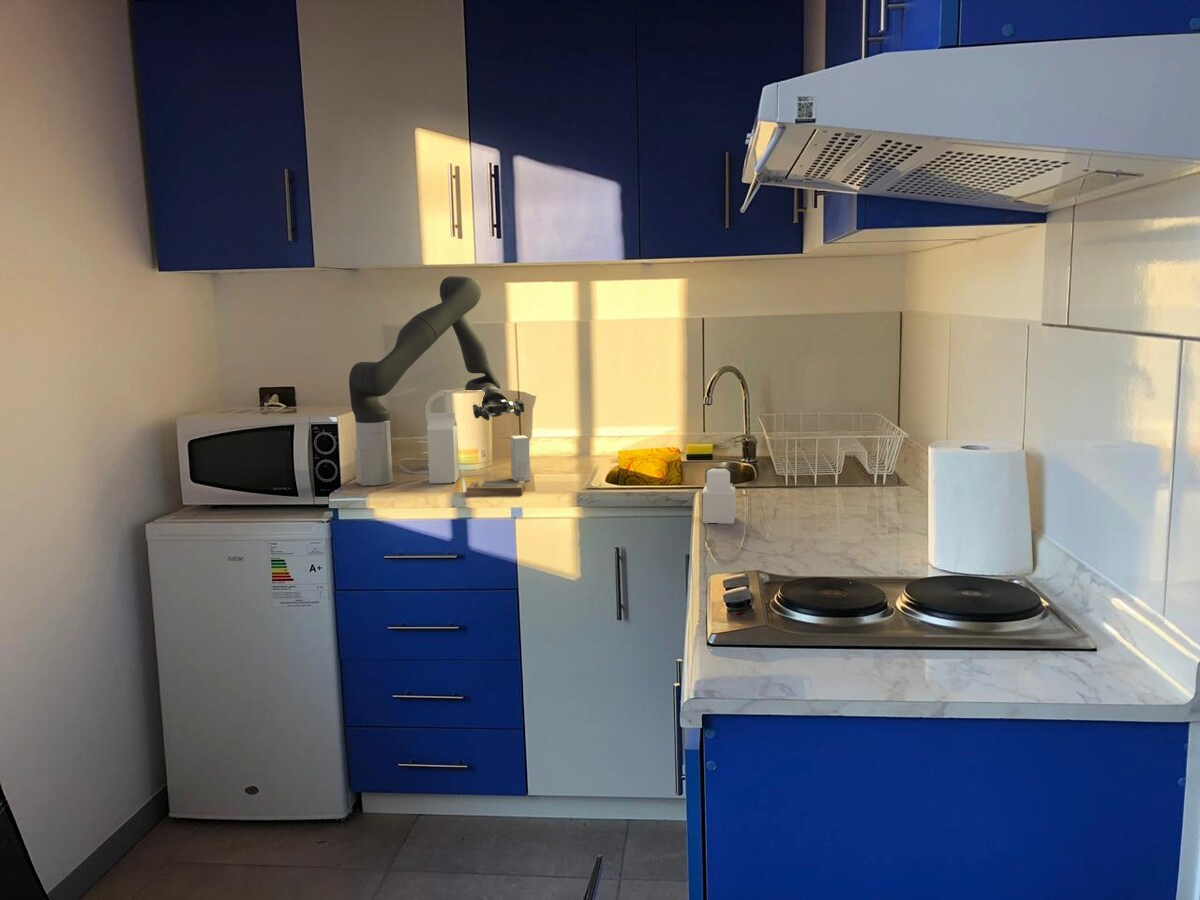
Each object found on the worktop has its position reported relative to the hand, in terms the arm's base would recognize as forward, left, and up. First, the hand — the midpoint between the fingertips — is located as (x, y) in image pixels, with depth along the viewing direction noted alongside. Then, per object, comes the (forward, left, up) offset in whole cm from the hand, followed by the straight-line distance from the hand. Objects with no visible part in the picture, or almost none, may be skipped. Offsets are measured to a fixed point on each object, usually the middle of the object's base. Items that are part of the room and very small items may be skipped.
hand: (503, 414), depth 294 cm
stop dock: (-9, -17, -17) cm, 26 cm away
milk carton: (-17, +2, -18) cm, 25 cm away
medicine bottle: (+19, -79, -18) cm, 83 cm away
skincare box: (+2, -7, -18) cm, 19 cm away
